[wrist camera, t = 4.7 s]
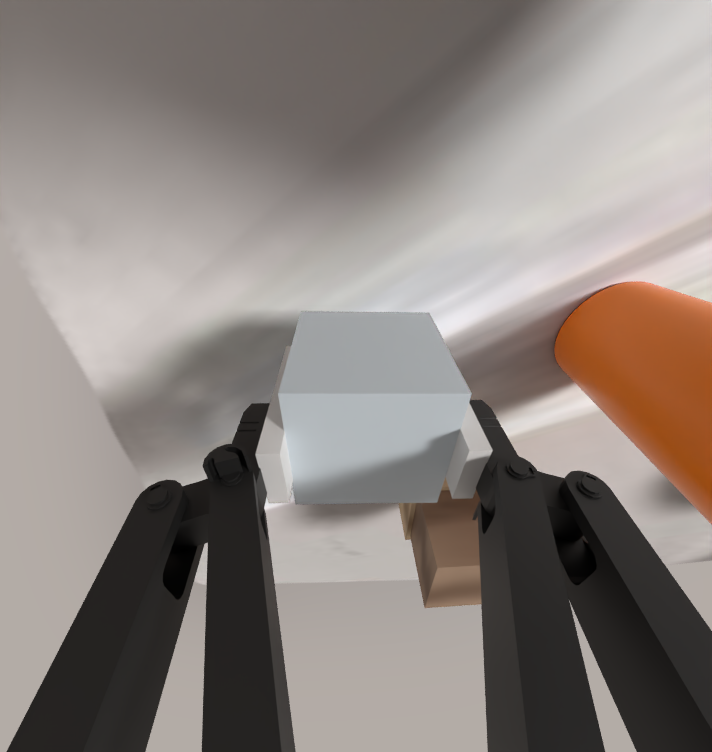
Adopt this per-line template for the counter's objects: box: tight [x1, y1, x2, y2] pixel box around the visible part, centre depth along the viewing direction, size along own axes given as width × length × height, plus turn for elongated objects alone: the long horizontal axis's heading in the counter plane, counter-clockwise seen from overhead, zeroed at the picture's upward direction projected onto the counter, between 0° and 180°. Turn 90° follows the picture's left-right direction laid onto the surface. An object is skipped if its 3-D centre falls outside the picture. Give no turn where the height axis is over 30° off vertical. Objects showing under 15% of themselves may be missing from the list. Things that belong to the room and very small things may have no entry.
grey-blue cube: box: [278, 311, 472, 504], centre depth 14 cm, size 6×6×6 cm
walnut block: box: [410, 490, 482, 608], centre depth 22 cm, size 6×6×5 cm
